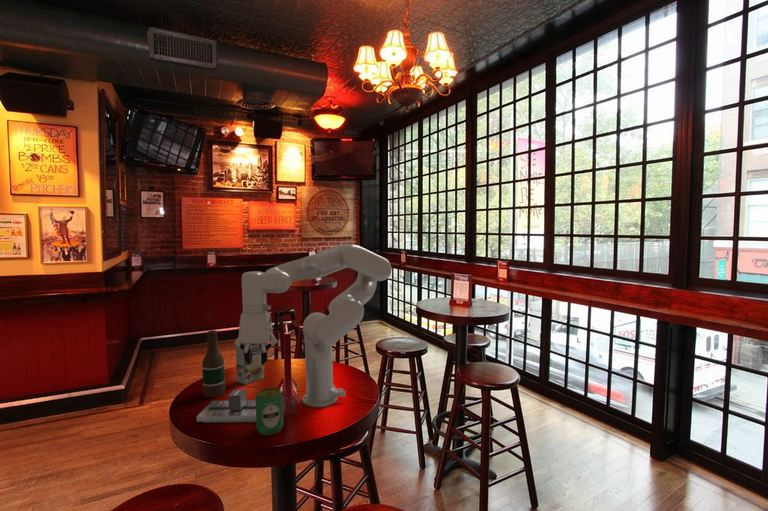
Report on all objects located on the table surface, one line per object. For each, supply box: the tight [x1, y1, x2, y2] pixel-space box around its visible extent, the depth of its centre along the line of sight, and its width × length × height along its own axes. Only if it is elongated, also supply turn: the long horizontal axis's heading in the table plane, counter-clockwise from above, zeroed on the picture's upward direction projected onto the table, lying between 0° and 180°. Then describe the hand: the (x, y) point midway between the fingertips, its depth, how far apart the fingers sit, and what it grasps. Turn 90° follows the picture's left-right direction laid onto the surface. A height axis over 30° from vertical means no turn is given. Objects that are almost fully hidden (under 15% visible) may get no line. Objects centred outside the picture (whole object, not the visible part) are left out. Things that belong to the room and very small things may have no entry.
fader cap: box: [227, 389, 247, 410], centre depth 137 cm, size 4×5×5 cm
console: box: [196, 399, 256, 423], centre depth 137 cm, size 24×12×4 cm, turn 90°
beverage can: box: [254, 386, 284, 436], centre depth 125 cm, size 8×8×12 cm
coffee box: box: [235, 344, 265, 385], centre depth 167 cm, size 9×6×16 cm
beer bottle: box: [201, 329, 226, 399], centre depth 153 cm, size 8×8×24 cm
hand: (256, 362), depth 136 cm, fingers open, 4 cm apart
